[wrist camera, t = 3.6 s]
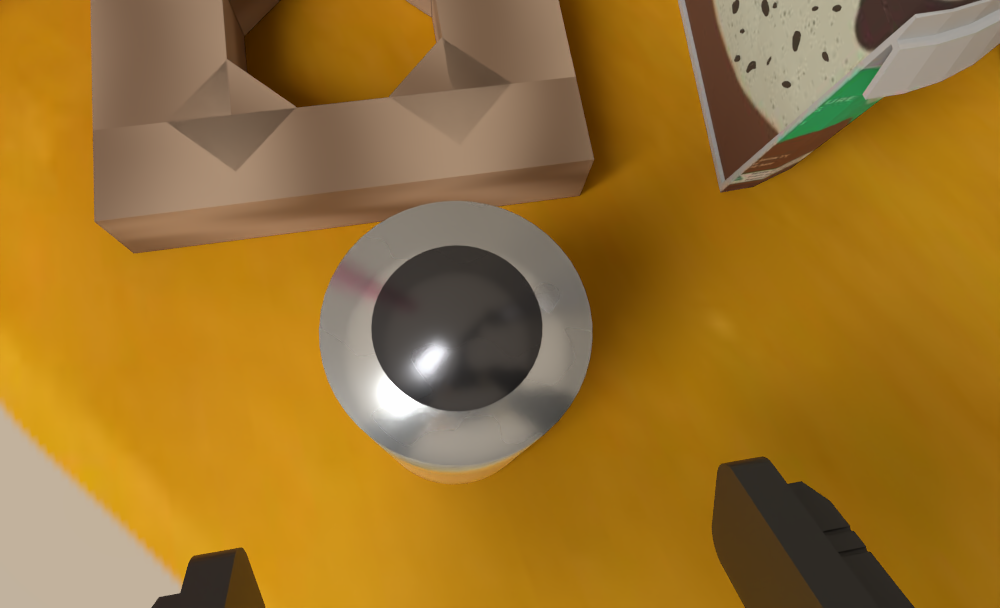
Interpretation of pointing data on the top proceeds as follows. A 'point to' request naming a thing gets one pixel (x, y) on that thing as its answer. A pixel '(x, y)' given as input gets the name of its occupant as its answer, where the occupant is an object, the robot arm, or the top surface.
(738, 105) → the food container
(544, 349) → the bushing
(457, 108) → the frame
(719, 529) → the robot arm
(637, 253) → the top surface
